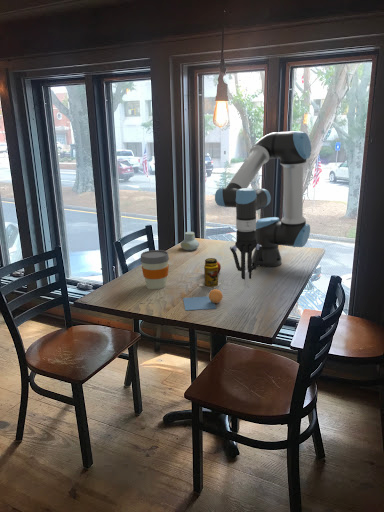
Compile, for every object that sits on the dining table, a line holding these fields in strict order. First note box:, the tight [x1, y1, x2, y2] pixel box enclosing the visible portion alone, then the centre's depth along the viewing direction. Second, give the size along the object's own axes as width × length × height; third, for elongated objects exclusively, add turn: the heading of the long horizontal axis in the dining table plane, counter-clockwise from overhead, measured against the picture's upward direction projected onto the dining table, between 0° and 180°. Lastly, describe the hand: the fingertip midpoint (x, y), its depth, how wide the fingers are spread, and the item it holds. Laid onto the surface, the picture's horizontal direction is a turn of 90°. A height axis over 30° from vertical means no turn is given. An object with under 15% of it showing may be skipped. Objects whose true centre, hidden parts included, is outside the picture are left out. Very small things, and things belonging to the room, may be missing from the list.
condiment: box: [197, 257, 222, 289], centre depth 179 cm, size 7×8×12 cm
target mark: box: [182, 295, 217, 312], centre depth 161 cm, size 12×12×1 cm
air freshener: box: [180, 231, 200, 251], centre depth 235 cm, size 11×8×10 cm
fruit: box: [217, 260, 222, 275], centre depth 192 cm, size 8×8×8 cm
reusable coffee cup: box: [140, 249, 170, 290], centre depth 179 cm, size 13×13×15 cm
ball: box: [208, 288, 224, 304], centre depth 160 cm, size 6×6×6 cm
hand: (246, 286), depth 161 cm, fingers closed
